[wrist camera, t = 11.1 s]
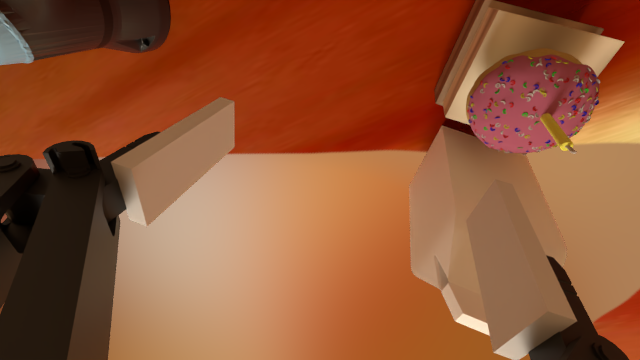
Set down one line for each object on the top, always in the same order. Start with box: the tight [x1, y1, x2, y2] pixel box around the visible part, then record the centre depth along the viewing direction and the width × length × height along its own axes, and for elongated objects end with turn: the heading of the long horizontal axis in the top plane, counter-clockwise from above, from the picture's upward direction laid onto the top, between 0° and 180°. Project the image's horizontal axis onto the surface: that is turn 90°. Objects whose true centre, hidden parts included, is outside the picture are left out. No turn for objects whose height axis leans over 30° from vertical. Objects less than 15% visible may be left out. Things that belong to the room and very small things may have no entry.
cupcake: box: [466, 48, 600, 155], centre depth 22 cm, size 9×8×12 cm
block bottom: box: [435, 0, 604, 106], centre depth 33 cm, size 11×11×6 cm
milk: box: [409, 125, 567, 336], centre depth 34 cm, size 12×12×26 cm
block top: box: [443, 7, 624, 125], centre depth 29 cm, size 10×10×5 cm
